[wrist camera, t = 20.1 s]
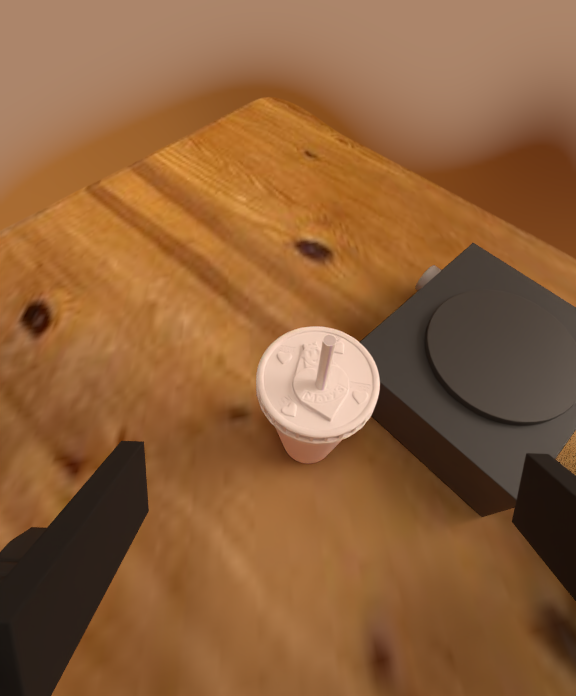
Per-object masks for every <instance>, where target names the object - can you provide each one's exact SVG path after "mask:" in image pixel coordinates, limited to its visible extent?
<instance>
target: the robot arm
mask: <svg viewBox="0 0 576 696" xmlns="http://www.w3.org/2000/svg"><path fill="white" fill-rule="evenodd" d="M148 511H149V509H148V495H147V480H146V466H145V451H144V442H138V441H121V442H120V443H119V444H118V446H117V447H116V448H115V449H114V450H113V451H112V453H111V454H110V455H109V456H108V457H107V458H106V460H105V461H104V462H103V463H102V464H101V465H100V467H99V468H98V469H97V470H96V471H95V473H94V474H93V475H92V476H91V477H90V478H89V480H88V481H87V482H86V483H85V484H84V485H83V487H82V488H81V489H80V490H79V491H78V492H77V494H76V495H75V496H74V497H73V498H72V499H71V501H70V502H69V503H68V504H67V505H66V506H65V508H64V509H63V510H62V511H61V512H60V513H59V515H58V516H57V517H56V518H55V519H54V521H53V522H52V523H51V524H50V525H49V526H48V528H37V527H31V528H30V529H28V530H27V531H25V532H24V533H22V534H21V535H19V536H18V537H16V538H15V539H13V540H12V541H10V542H9V543H8V544H7V545H6V547H5V548H4V549H3V550H2V551H1V552H0V696H51V695H52V693H53V691H54V689H55V687H56V685H57V683H58V682H59V680H60V678H61V676H62V674H63V672H64V670H65V668H66V666H67V665H68V663H69V661H70V659H71V657H72V655H73V653H74V651H75V649H76V647H77V646H78V644H79V642H80V640H81V638H82V636H83V634H84V632H85V630H86V629H87V627H88V625H89V623H90V621H91V619H92V617H93V615H94V613H95V612H96V610H97V608H98V606H99V604H100V602H101V600H102V598H103V596H104V594H105V593H106V591H107V589H108V587H109V585H110V583H111V581H112V579H113V577H114V576H115V574H116V572H117V570H118V568H119V566H120V564H121V562H122V560H123V559H124V557H125V555H126V553H127V551H128V549H129V547H130V545H131V543H132V541H133V540H134V538H135V536H136V534H137V532H138V530H139V528H140V526H141V524H142V523H143V521H144V519H145V517H146V515H147V513H148ZM512 522H513V524H514V525H515V526H516V527H517V529H518V530H519V531H520V532H521V534H522V535H523V536H524V537H525V539H526V540H527V541H528V542H529V544H530V545H531V546H532V547H533V549H534V550H535V551H536V552H537V554H538V555H539V556H540V557H541V559H542V560H543V561H544V562H545V564H546V565H547V566H548V567H549V569H550V570H551V571H552V572H553V574H554V575H555V576H556V577H557V579H558V580H559V581H560V582H561V584H562V585H563V586H564V587H565V588H566V590H567V591H568V592H569V593H570V595H571V596H572V597H573V598H574V600H575V601H576V476H575V475H574V474H573V473H571V472H570V471H569V470H568V469H566V468H565V467H564V466H563V465H561V464H560V463H559V462H558V461H557V460H555V459H554V458H553V457H552V456H550V455H549V454H536V453H526V456H525V461H524V466H523V471H522V476H521V480H520V485H519V490H518V495H517V500H516V505H515V509H514V514H513V519H512Z"/></svg>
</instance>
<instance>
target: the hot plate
mask: <svg viewBox="0 0 576 696" xmlns="http://www.w3.org/2000/svg"><path fill="white" fill-rule="evenodd" d="M415 289H416V290H417V292H416V293H415V294H414V295H413V296H412V297H411V298H409V299H408V300H407V301H406V302H405V303H404V304H403V305H401V306H400V307H399V308H398V309H397V310H396V311H395V312H393V313H392V314H391V315H390V316H389V317H388V318H387V319H385V320H384V321H383V322H382V323H381V324H380V325H379V326H377V327H376V328H375V329H374V330H373V331H372V332H371V333H369V334H368V335H367V336H366V337H365V338H364V339H363V340H361V341H360V343H361V344H362V345H363V346H364V347H365V348H366V349H367V351H368V352H369V353H370V355H371V356H372V358H373V360H374V361H375V364H376V366H377V369H378V373H379V378H380V390H379V396H378V400H377V403H376V405H375V408H374V410H373V413H372V417H373V418H374V419H375V420H377V421H378V422H379V423H380V424H381V425H382V426H383V427H384V428H385V429H386V430H387V431H389V432H390V433H391V434H392V435H393V436H394V437H395V438H396V439H397V440H398V441H399V442H401V443H402V444H403V445H404V446H405V447H406V448H407V449H408V450H409V451H410V452H411V453H413V454H414V455H415V456H416V457H417V458H418V459H419V460H420V461H421V462H422V463H424V464H425V465H426V466H427V467H428V468H429V469H430V470H431V471H432V472H433V473H434V474H436V475H437V476H438V477H439V478H440V479H441V480H442V481H443V482H444V483H445V484H446V485H448V486H449V487H450V488H451V489H452V490H453V491H454V492H455V493H456V494H457V495H458V496H460V497H461V498H462V499H463V500H464V501H465V502H466V503H467V504H468V505H469V506H470V507H472V508H473V509H474V510H475V511H476V512H477V513H478V514H479V515H480V516H481V517H484V516H487V515H491V514H494V513H498V512H501V511H504V510H508V509H511V508H514V507H515V505H516V500H517V495H518V490H519V485H520V480H521V476H522V471H523V466H524V461H525V456H526V453H536V454H549V455H550V456H552V457H553V458H554V459H556V457H557V456H558V454H559V453H560V452H561V450H562V449H563V447H564V446H565V444H566V443H567V442H568V440H569V439H570V437H571V436H572V435H573V433H574V432H575V430H576V307H574V306H572V305H571V304H569V303H568V302H566V301H565V300H563V299H561V298H560V297H558V296H557V295H555V294H553V293H552V292H550V291H549V290H547V289H546V288H544V287H542V286H541V285H539V284H538V283H536V282H534V281H533V280H531V279H530V278H528V277H527V276H525V275H523V274H522V273H520V272H519V271H517V270H516V269H514V268H512V267H511V266H509V265H508V264H506V263H504V262H503V261H501V260H500V259H498V258H497V257H495V256H493V255H492V254H490V253H489V252H487V251H486V250H484V249H482V248H481V247H479V246H478V245H476V244H474V243H472V244H471V245H470V246H469V247H468V248H467V249H465V250H464V251H463V252H462V253H461V254H460V255H459V256H457V257H456V258H455V259H454V260H453V261H452V262H451V263H449V264H448V265H447V266H446V267H445V268H444V269H443V270H441V269H439V268H438V267H436V266H435V265H433V266H431V267H430V268H429V269H428V270H427V271H426V272H425V273H424V274H423V275H422V276H421V278H420V279H419V281H418V282H417V284H416V287H415Z"/></svg>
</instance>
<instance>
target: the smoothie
mask: <svg viewBox="0 0 576 696" xmlns="http://www.w3.org/2000/svg"><path fill="white" fill-rule="evenodd" d="M379 390H380V378H379V373H378V369H377V366H376V364H375V361H374V360H373V358H372V356H371V355H370V353H369V352H368V351H367V349H366V348H365V347H364V346H363V345H362V344H361V343H360V342H358V341H357V340H356V339H354V338H353V337H351V336H350V335H348V334H346V333H344V332H341V331H339V330H336V329H332V328H327V327H317V326H313V327H303V328H299V329H295V330H292V331H290V332H288V333H286V334H284V335H282V336H281V337H279V338H278V339H276V340H275V341H274V342H273V343H272V344H271V345H270V346H269V347H268V348H267V350H266V351H265V352H264V354H263V356H262V358H261V360H260V362H259V365H258V369H257V377H256V391H257V398H258V401H259V404H260V407H261V410H262V411H263V413H264V414H265V416H266V417H267V419H268V420H269V421H270V423H271V424H272V425H274V426H275V427H276V430H277V432H278V434H279V437H280V439H281V441H282V444H283V446H284V448H285V450H286V452H287V453H288V454H289V456H290V457H292V458H293V459H294V460H296V461H298V462H301V463H306V464H310V463H316V462H319V461H321V460H322V459H324V458H325V457H326V456H327V455H328V454H329V453H330V452H331V451H332V450H333V449H334V448H335V447H336V446H337V445H338V444H339V443H340V441H341V440H342V439H345V438H348V437H350V436H351V435H353V434H354V433H355V432H357V431H358V430H360V429H361V428H362V427H363V426H364V425H365V423H366V422H367V421H368V420H369V418H370V417H371V416H372V413H373V410H374V408H375V405H376V403H377V400H378V396H379Z"/></svg>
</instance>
